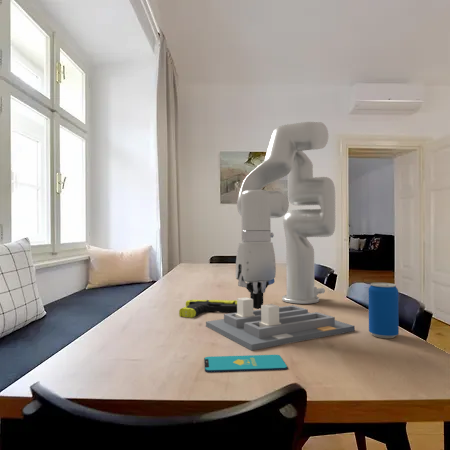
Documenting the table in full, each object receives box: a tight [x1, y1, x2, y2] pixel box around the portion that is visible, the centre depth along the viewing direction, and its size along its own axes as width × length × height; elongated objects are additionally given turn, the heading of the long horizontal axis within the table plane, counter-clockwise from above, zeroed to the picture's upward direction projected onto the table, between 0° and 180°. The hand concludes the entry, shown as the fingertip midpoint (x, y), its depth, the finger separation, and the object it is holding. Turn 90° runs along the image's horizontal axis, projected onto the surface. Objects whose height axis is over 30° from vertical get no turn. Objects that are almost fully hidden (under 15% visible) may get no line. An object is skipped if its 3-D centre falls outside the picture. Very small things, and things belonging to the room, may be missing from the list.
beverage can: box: [368, 282, 400, 339], centre depth 88 cm, size 6×6×12 cm
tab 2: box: [259, 303, 281, 327], centre depth 87 cm, size 4×3×6 cm
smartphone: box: [203, 354, 288, 373], centre depth 70 cm, size 7×1×15 cm
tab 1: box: [235, 296, 255, 318], centre depth 96 cm, size 4×3×6 cm
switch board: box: [205, 304, 355, 351], centre depth 95 cm, size 30×22×3 cm
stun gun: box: [178, 299, 237, 319], centre depth 113 cm, size 3×19×15 cm
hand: (256, 307), depth 97 cm, fingers closed
